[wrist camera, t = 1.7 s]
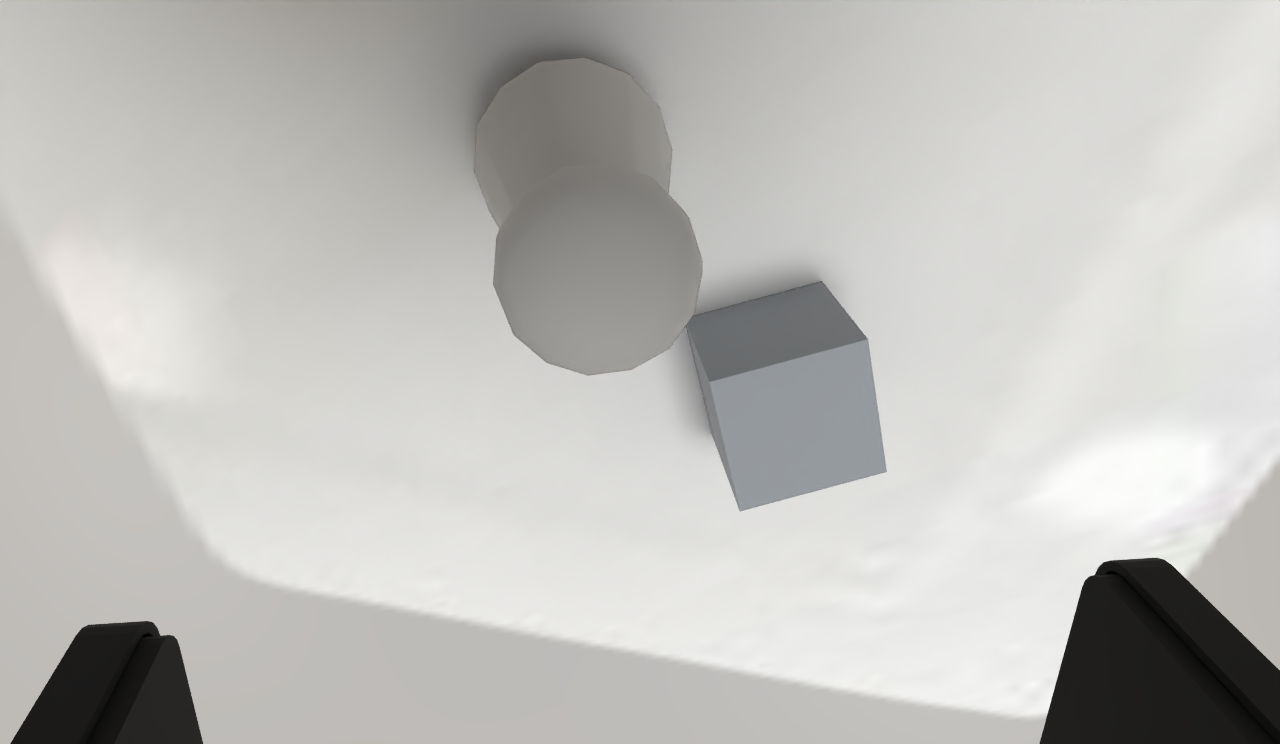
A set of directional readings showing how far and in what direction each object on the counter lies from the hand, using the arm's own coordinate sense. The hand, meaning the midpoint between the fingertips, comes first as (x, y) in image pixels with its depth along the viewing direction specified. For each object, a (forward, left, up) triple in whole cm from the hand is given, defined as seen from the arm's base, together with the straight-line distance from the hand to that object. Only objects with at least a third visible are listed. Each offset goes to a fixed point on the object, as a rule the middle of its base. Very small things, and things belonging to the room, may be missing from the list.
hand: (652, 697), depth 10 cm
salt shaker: (-1, 0, -23) cm, 23 cm away
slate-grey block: (+7, +7, -23) cm, 25 cm away
